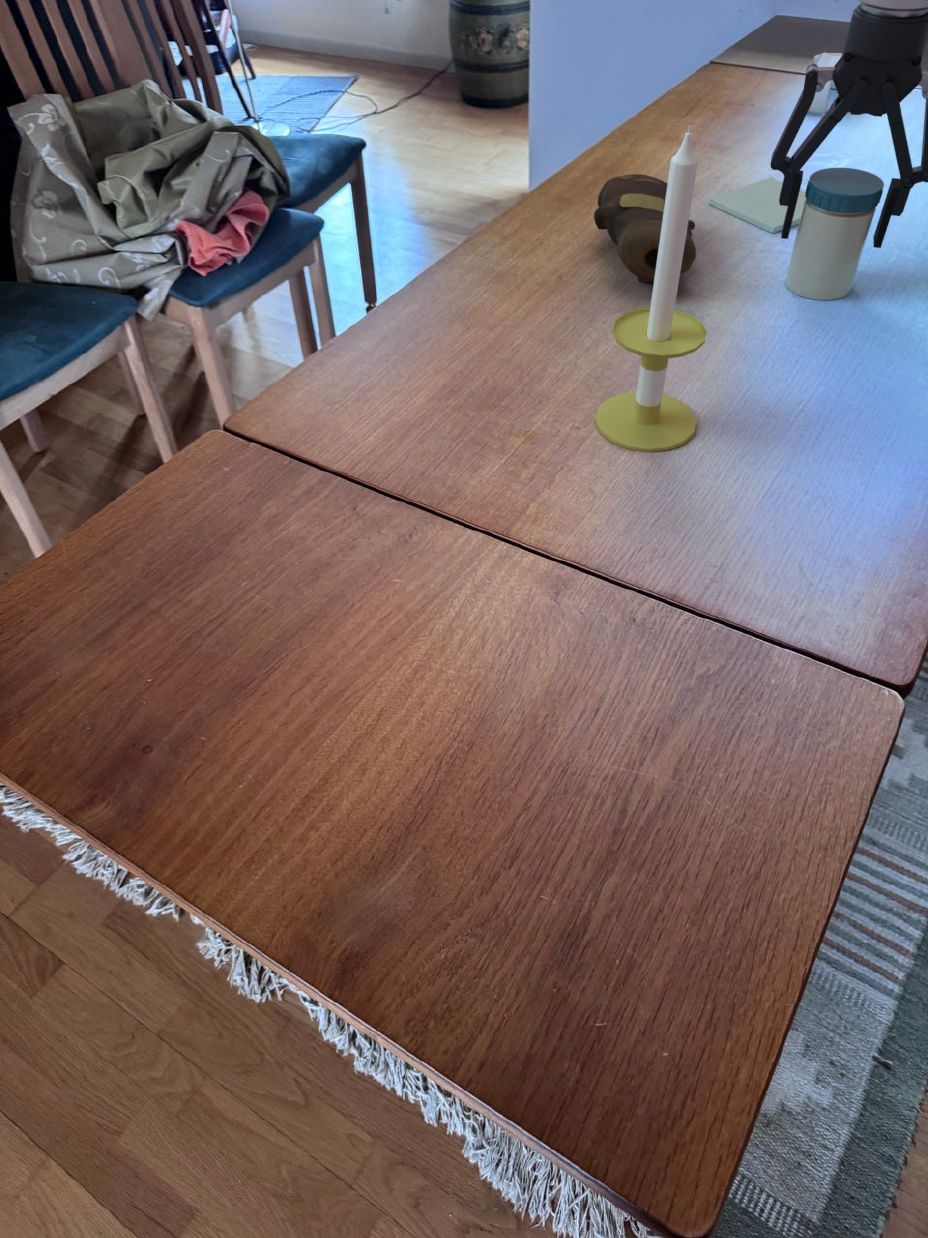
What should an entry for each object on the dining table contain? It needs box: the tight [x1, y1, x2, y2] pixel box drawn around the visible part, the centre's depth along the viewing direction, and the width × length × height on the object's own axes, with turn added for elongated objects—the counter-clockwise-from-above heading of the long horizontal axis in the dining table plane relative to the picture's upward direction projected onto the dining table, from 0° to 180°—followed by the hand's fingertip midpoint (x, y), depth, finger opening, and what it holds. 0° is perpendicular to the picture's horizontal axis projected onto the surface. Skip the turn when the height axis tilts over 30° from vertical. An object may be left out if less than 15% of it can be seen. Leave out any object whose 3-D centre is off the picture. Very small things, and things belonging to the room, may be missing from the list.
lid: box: [805, 167, 885, 213], centre depth 97 cm, size 8×8×2 cm
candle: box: [594, 124, 707, 453], centre depth 77 cm, size 10×10×27 cm
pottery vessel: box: [593, 173, 697, 283], centre depth 107 cm, size 12×20×8 cm, turn 177°
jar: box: [784, 199, 877, 301], centre depth 101 cm, size 8×8×11 cm
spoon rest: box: [808, 52, 843, 115], centre depth 148 cm, size 24×12×7 cm, turn 148°
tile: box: [707, 176, 806, 234], centre depth 120 cm, size 12×12×1 cm
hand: (830, 237), depth 101 cm, fingers open, 9 cm apart
